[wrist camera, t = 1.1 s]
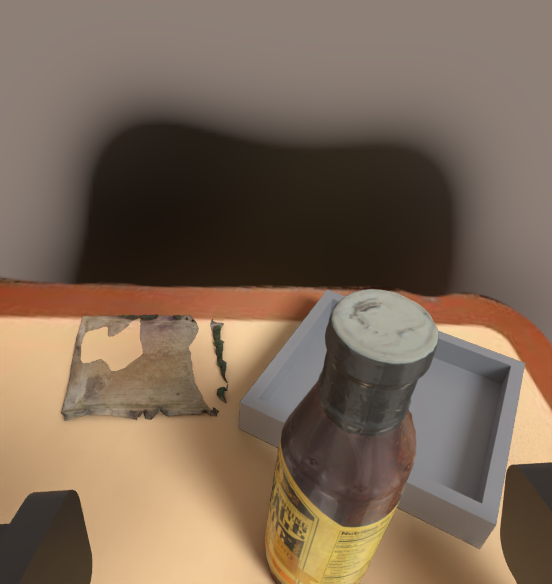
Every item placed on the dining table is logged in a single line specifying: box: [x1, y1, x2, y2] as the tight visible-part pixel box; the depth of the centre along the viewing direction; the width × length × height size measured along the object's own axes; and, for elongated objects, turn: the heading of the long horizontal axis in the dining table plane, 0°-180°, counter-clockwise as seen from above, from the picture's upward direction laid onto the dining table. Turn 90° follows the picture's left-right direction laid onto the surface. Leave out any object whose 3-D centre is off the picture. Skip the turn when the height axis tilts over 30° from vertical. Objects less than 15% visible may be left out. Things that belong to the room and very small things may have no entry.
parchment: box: [61, 315, 228, 421], centre depth 43 cm, size 12×13×1 cm
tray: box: [239, 290, 525, 549], centre depth 40 cm, size 18×16×3 cm
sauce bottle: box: [265, 289, 439, 584], centre depth 25 cm, size 7×6×20 cm
